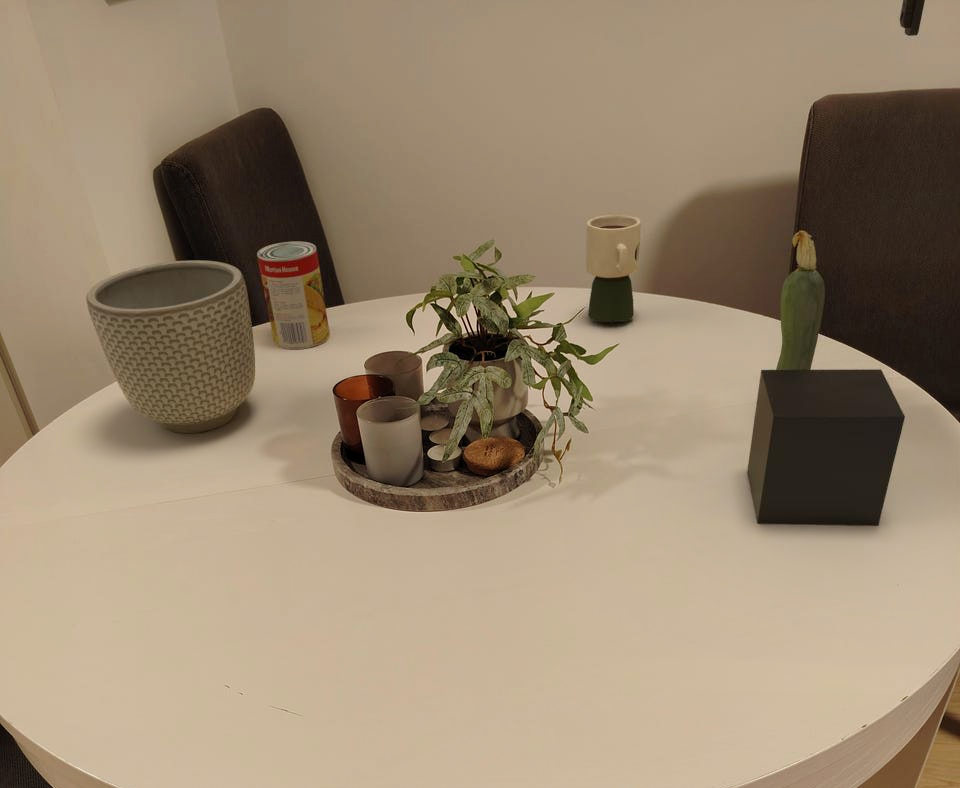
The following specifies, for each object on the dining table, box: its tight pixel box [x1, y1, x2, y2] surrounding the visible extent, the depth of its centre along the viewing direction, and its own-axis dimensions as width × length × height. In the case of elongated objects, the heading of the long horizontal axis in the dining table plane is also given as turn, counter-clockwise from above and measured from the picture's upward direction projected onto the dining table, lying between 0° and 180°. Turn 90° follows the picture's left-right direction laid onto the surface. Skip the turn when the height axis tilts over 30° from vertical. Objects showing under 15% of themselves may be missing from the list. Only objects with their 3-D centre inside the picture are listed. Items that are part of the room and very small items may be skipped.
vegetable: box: [775, 230, 826, 370], centre depth 100 cm, size 4×4×20 cm
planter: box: [85, 259, 256, 434], centre depth 110 cm, size 17×17×16 cm
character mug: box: [585, 214, 642, 324], centre depth 128 cm, size 11×7×13 cm, turn 9°
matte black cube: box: [746, 368, 906, 526], centre depth 90 cm, size 11×12×11 cm
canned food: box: [256, 240, 331, 350], centre depth 129 cm, size 8×8×12 cm
